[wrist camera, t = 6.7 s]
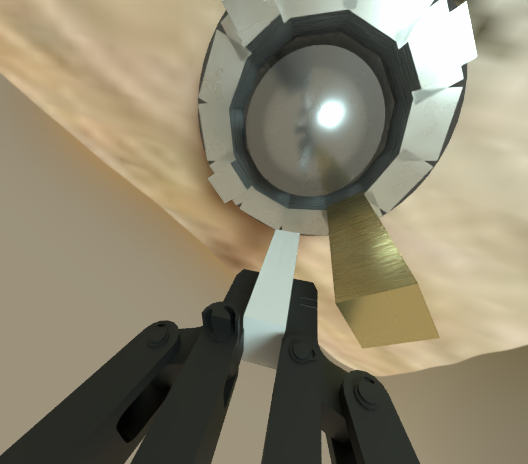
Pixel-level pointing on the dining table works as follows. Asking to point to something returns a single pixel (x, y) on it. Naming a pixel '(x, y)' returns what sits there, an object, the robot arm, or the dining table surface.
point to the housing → (321, 114)
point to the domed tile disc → (383, 167)
